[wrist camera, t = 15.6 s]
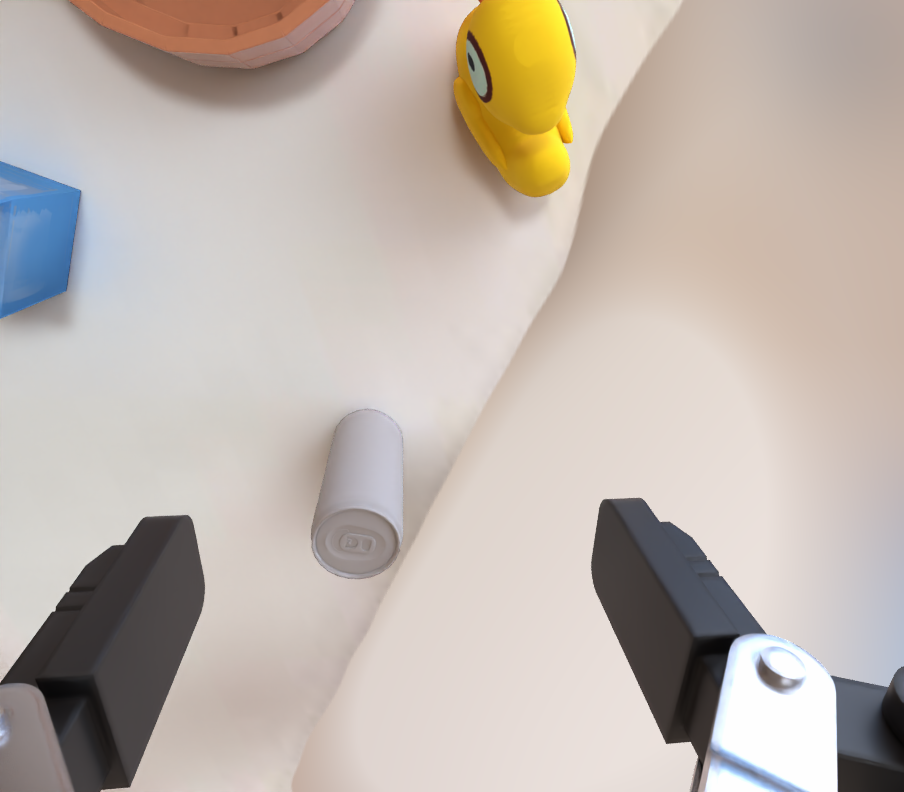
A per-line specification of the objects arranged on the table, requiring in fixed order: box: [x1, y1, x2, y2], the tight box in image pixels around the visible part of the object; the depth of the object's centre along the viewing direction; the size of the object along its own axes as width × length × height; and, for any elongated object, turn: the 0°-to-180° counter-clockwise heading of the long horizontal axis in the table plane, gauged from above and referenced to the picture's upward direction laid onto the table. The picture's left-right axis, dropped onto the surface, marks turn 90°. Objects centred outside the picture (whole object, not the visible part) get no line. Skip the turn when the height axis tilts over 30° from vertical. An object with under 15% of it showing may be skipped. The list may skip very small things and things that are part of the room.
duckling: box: [453, 0, 576, 197], centre depth 27 cm, size 11×5×10 cm, turn 22°
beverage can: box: [311, 409, 403, 579], centre depth 35 cm, size 5×5×12 cm
